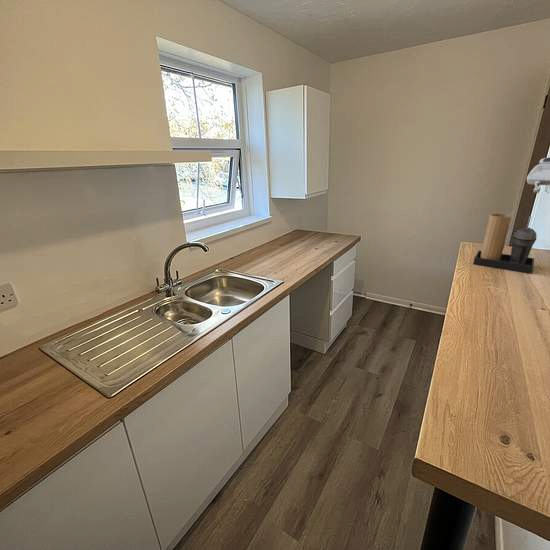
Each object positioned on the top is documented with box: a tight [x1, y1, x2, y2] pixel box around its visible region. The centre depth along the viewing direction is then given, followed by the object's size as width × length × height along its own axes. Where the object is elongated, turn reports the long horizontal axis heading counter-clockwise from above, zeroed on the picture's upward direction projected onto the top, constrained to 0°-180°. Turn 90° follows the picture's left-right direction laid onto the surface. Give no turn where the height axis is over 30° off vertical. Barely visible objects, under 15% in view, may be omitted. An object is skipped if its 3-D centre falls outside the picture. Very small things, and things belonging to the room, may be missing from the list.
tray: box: [473, 250, 535, 275], centre depth 123 cm, size 19×11×3 cm, turn 51°
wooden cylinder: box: [480, 213, 513, 261], centre depth 123 cm, size 7×7×20 cm
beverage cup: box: [510, 215, 537, 265], centre depth 117 cm, size 7×7×20 cm
